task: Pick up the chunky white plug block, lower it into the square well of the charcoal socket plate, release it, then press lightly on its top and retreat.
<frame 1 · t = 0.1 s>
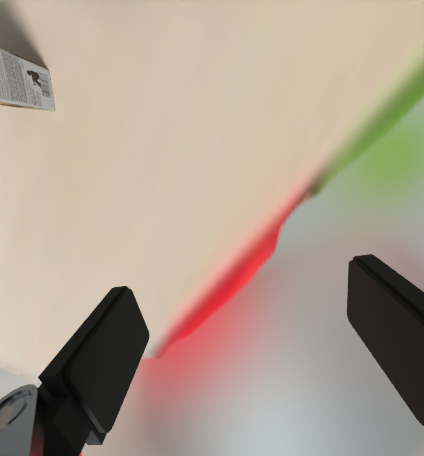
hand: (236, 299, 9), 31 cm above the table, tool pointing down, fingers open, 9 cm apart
coffee box: (28, 88, 35), on the table
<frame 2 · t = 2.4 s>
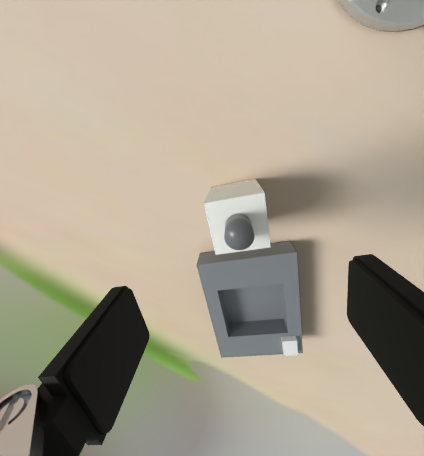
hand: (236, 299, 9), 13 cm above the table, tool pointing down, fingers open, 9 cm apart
socket plate: (251, 297, 25), on the table
plug: (236, 204, 21), on the table
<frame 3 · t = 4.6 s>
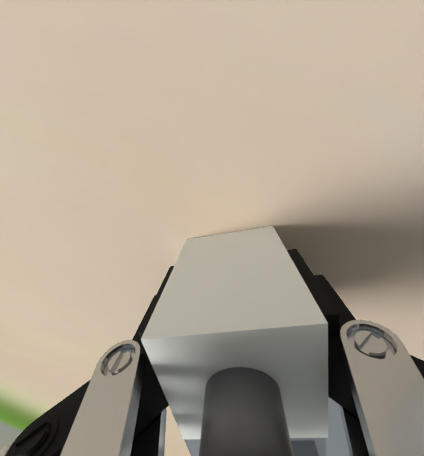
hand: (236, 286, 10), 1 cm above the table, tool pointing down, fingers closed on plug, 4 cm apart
socket plate: (261, 407, 15), on the table
plug: (235, 269, 11), on the table, touching gripper
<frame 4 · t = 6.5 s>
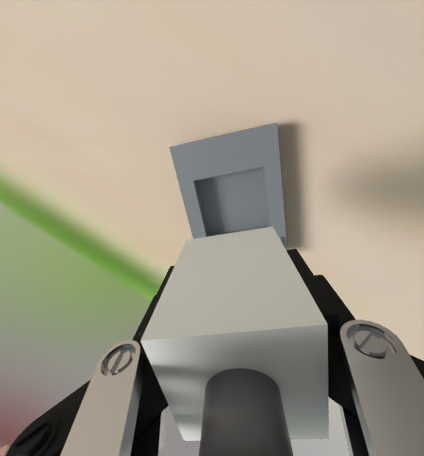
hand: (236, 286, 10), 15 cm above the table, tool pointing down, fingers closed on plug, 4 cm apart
socket plate: (233, 201, 24), on the table
plug: (235, 270, 11), point 14 cm above the table, touching gripper
when the fingers open (4 cm above the table, at t = 8.6 s): plug drops 2 cm, resting on socket plate.
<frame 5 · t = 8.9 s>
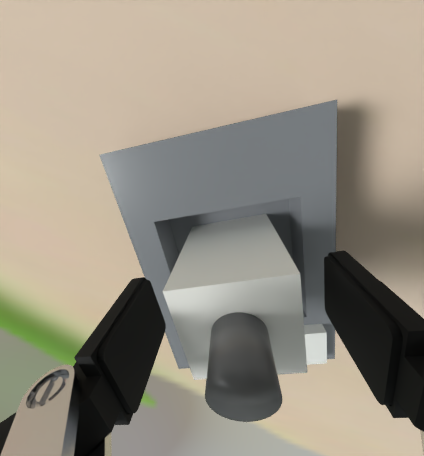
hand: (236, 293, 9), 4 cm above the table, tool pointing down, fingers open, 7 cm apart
socket plate: (234, 250, 13), on the table
plug: (234, 253, 13), resting on socket plate
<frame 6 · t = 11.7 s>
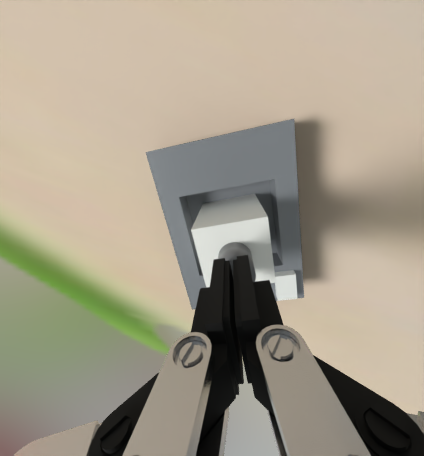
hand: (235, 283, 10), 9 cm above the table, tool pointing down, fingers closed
socket plate: (232, 221, 18), on the table
plug: (232, 223, 18), resting on socket plate
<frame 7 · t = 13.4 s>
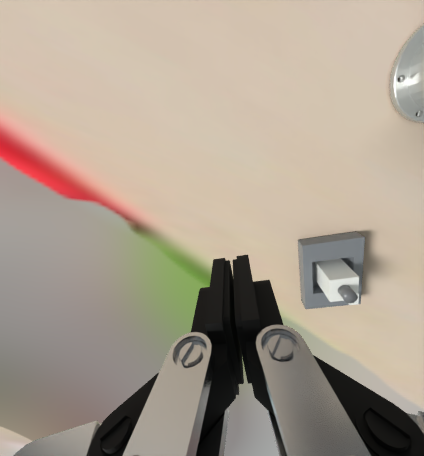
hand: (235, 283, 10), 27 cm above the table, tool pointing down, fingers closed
socket plate: (326, 268, 40), on the table
plug: (327, 269, 39), resting on socket plate
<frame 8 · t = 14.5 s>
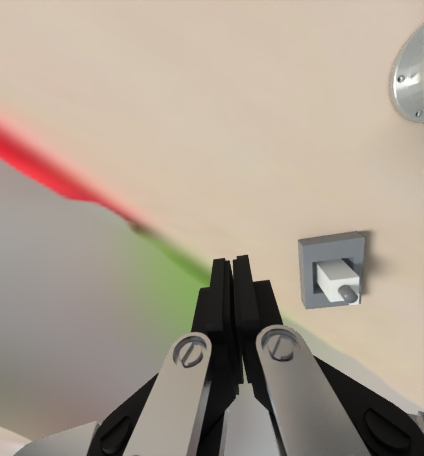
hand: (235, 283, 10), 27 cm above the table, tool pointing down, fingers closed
socket plate: (326, 268, 40), on the table
plug: (327, 269, 39), resting on socket plate
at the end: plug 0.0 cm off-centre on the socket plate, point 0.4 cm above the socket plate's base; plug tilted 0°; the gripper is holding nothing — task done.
